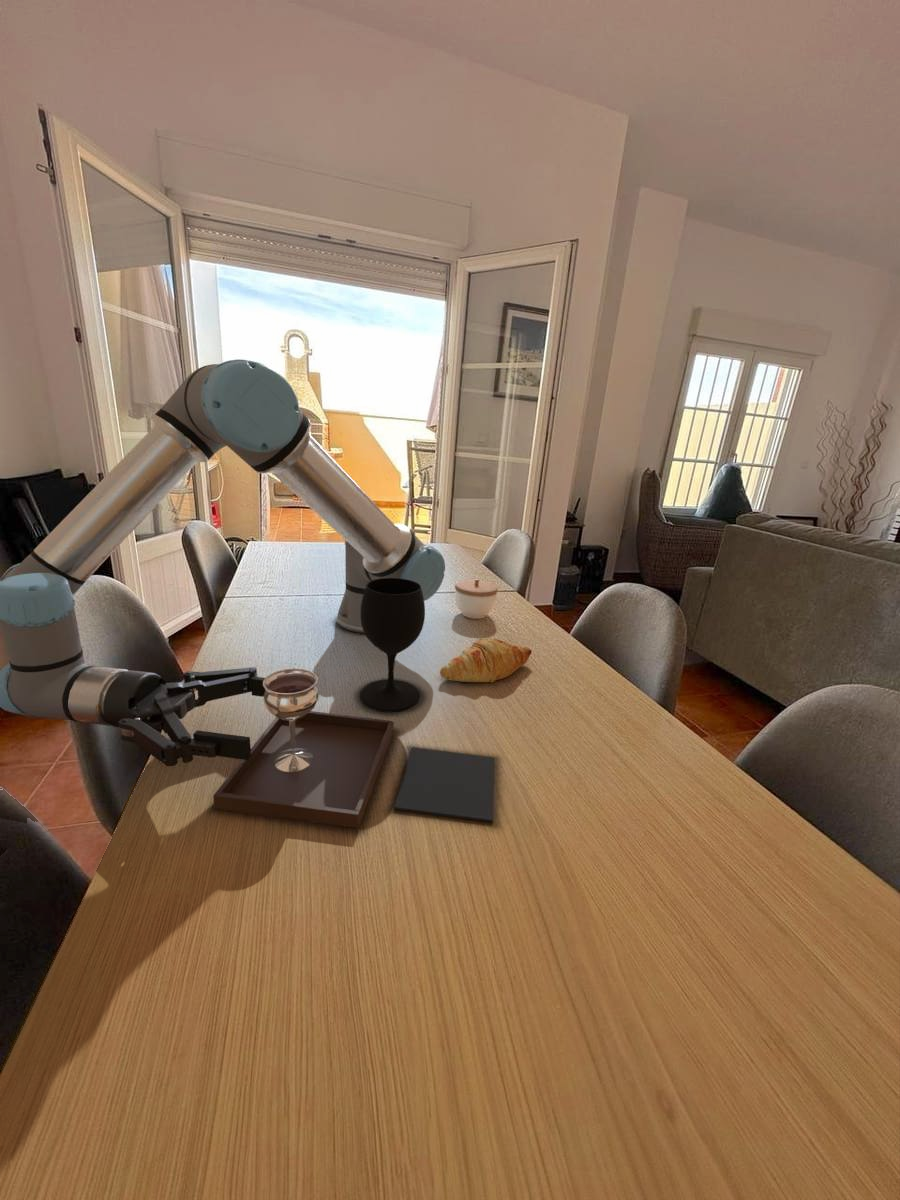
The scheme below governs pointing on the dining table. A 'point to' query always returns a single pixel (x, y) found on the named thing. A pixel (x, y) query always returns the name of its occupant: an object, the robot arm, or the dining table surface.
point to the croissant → (486, 661)
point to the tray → (311, 770)
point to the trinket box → (475, 597)
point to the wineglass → (291, 709)
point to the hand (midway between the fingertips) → (275, 717)
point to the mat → (447, 785)
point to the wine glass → (391, 637)
